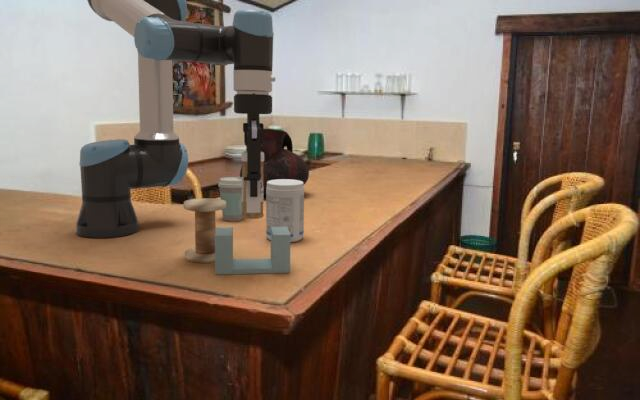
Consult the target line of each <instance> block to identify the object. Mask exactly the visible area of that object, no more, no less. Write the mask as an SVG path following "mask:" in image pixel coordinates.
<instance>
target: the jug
mask: <svg viewBox="0 0 640 400" xmlns="http://www.w3.org/2000/svg"><path fill="white" fill-rule="evenodd" d="M285 148H286V149H285ZM293 150H294V149H293V140H292V137H290V135H289V133H288V132H287V131H285V130H281V129H275V128H264V130H263V133H262V145H261V152H263V153H264V164H263V187H264V198H266V187H267V182H268V181H270V180H277V179H292V180H299V181H302V182H303V183H304V185H306V184H307V182H308V180H309V176H310V171H309V167H308V164H307V163H306V161H305V160H304V159H303V158H302V157H301V156H300V155H298V154H296V152H293ZM239 177H241V178H242V166H241V167H240V171H239Z"/></svg>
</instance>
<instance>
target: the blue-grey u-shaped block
mask: <svg viewBox="0 0 640 400" xmlns="http://www.w3.org/2000/svg"><path fill="white" fill-rule="evenodd" d="M290 241H291V235H290V232H289V230H288V227H271V240H270V257H269V258H234V227H233V226H231V227H230V226H227V227H226V226H223V227H218V226H217V227H216V232H215V262H214V263H215V265H214V270H215V271H214V274H215V275H248V274H249V275H250V274H251V275H252V274H256V275H257V274H286V273H287V274H289V273H291V242H290Z"/></svg>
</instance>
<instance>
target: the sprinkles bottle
mask: <svg viewBox="0 0 640 400" xmlns="http://www.w3.org/2000/svg"><path fill="white" fill-rule="evenodd" d="M240 157H241V158H240V159H241V164H242V165H241V167H242V217H243V219H246V220H257V219H262V218H263V217H264V216H265V214H264V200H265V199H264V198H265V197H264V187H263V164H264V153H263V152H261V179H260V213H247V181H244V177H247V151H246V150H245V151H242V152H241V156H240Z"/></svg>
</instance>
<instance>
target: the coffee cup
mask: <svg viewBox="0 0 640 400" xmlns="http://www.w3.org/2000/svg"><path fill="white" fill-rule="evenodd" d="M217 186H218V188H219V197H220V198H219V199H221V200H224V201H226V208H225V209H223V210H221V214H222V220H224V221H226V222H240V221H243V220H244V218H243V217H242V178H241V177H240V176H229V177H228V176H225V177H221V178H219V182H218V185H217Z"/></svg>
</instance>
